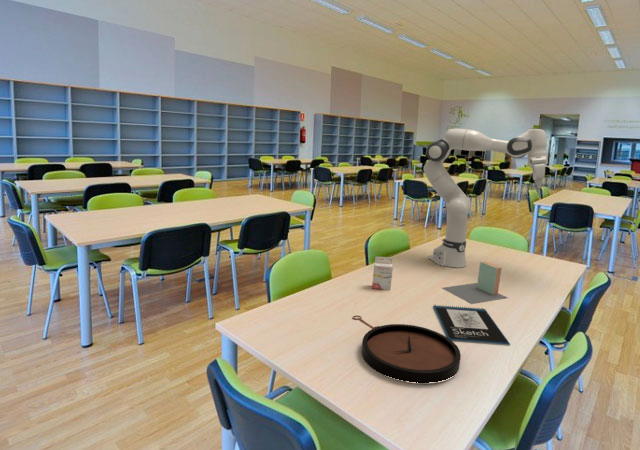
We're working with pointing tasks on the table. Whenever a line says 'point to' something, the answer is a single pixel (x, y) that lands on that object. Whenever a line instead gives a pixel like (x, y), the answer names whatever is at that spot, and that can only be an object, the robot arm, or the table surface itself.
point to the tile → (489, 278)
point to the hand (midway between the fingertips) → (538, 188)
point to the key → (363, 321)
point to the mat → (472, 293)
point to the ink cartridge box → (382, 273)
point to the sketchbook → (469, 325)
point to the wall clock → (410, 353)
